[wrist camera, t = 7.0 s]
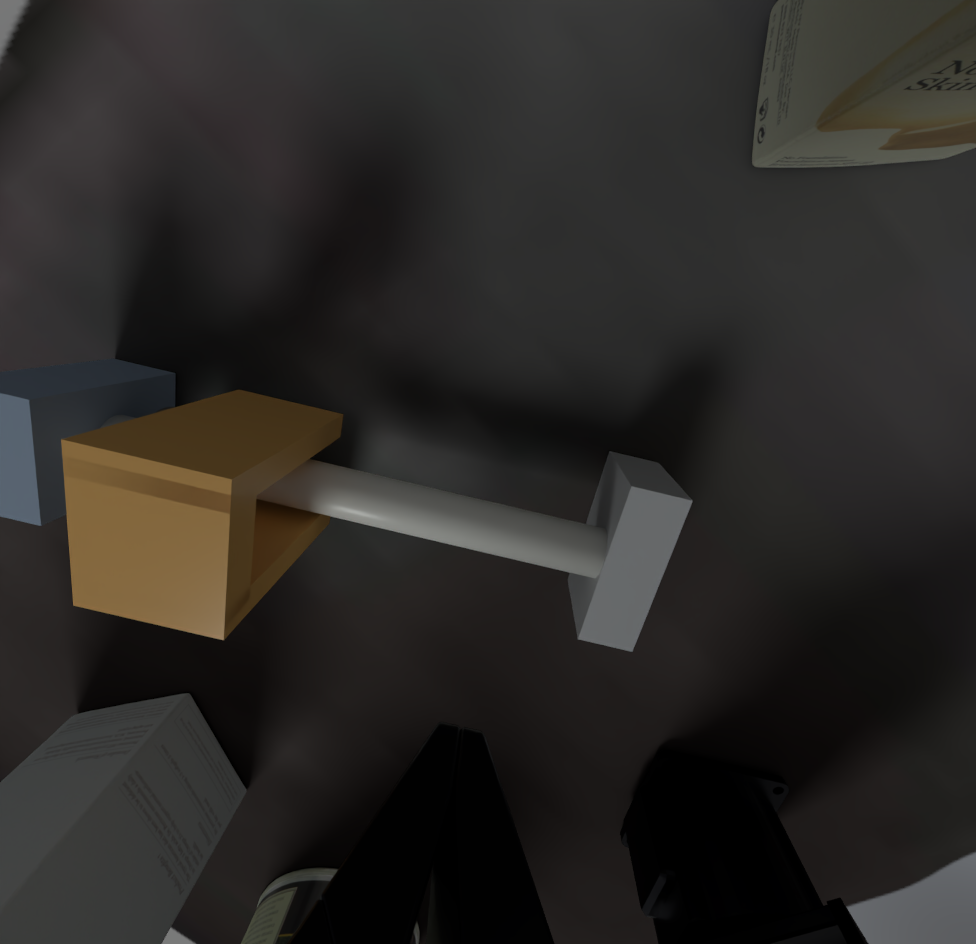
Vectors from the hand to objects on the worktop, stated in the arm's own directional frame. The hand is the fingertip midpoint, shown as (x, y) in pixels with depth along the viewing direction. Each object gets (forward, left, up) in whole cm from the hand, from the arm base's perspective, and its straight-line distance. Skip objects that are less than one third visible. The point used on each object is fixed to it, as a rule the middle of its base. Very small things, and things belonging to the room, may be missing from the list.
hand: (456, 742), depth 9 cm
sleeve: (+8, 0, -11) cm, 13 cm away
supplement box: (+14, +19, -12) cm, 26 cm away
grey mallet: (+5, 0, -12) cm, 13 cm away
